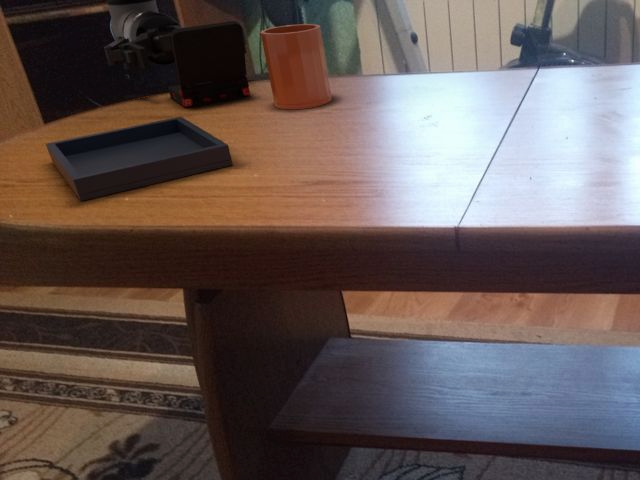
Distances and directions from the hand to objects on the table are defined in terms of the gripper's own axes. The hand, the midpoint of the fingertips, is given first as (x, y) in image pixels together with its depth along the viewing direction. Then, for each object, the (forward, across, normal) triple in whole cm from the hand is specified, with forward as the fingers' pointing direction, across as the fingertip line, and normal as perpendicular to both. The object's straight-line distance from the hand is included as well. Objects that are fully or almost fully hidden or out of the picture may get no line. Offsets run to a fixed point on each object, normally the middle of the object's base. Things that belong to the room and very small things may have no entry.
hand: (195, 51), depth 102 cm
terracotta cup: (+16, -8, -6) cm, 19 cm away
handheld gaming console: (+3, 0, -6) cm, 7 cm away
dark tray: (+28, +16, -6) cm, 33 cm away
